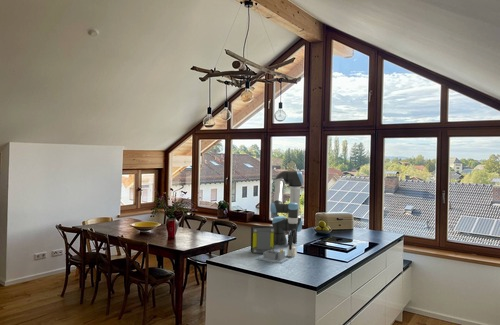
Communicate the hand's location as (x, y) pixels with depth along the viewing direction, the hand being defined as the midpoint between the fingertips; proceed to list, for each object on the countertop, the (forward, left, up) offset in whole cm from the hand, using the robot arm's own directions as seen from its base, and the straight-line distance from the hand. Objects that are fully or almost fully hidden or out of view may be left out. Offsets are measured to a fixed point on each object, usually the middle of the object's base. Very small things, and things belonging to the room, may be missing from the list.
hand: (292, 252), depth 284 cm
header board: (+18, -8, -2) cm, 20 cm away
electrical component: (+2, -25, -3) cm, 25 cm away
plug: (0, 0, -2) cm, 2 cm away
